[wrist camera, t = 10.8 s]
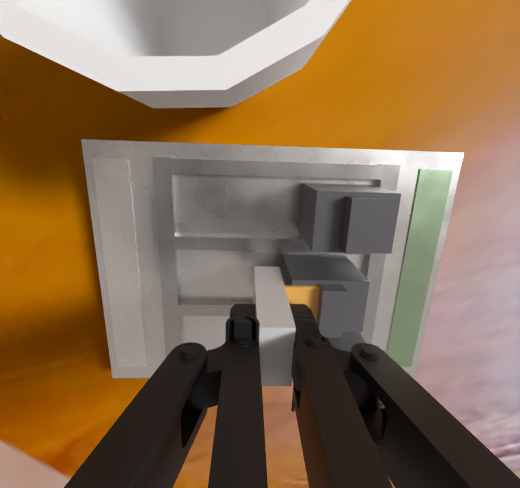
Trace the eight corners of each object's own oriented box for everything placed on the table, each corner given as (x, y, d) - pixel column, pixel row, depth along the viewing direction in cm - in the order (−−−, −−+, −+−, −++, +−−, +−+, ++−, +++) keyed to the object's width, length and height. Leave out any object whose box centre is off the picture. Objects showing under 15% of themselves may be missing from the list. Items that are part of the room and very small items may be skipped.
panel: (120, 363, 23) (108, 384, 21) (94, 140, 18) (75, 138, 16) (404, 363, 24) (419, 383, 22) (447, 152, 19) (471, 152, 17)
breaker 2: (274, 297, 20) (282, 340, 15) (276, 254, 19) (286, 286, 14) (340, 298, 20) (367, 341, 15) (345, 255, 19) (376, 287, 15)
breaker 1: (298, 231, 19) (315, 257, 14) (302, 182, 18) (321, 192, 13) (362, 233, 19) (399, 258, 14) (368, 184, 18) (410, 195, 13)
